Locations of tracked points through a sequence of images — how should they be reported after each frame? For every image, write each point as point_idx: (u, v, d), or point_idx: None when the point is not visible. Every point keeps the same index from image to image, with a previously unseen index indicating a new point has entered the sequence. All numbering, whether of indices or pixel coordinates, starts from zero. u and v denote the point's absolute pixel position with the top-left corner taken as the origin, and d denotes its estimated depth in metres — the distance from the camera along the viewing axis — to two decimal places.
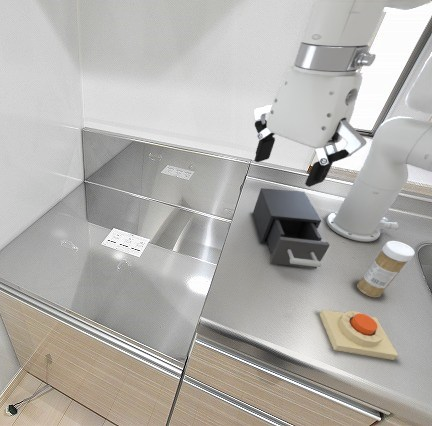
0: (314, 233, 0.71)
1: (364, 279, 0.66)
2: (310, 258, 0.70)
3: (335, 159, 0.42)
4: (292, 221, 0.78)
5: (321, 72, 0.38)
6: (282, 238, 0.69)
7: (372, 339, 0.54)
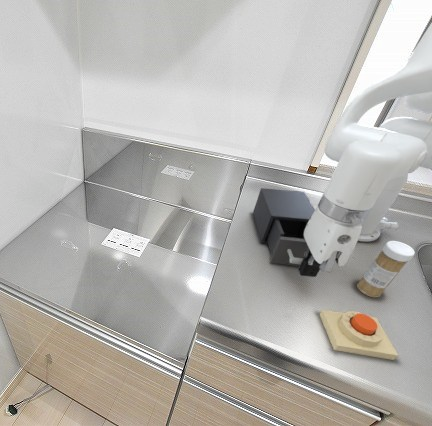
0: None
1: (364, 279, 0.66)
2: None
3: (315, 264, 0.61)
4: (292, 221, 0.78)
5: (324, 214, 0.55)
6: (282, 238, 0.69)
7: (372, 339, 0.54)
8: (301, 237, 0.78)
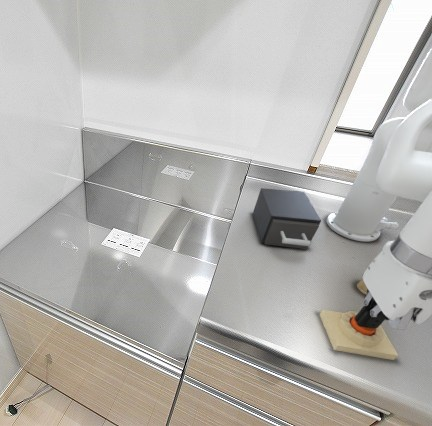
0: None
1: None
2: (301, 239, 0.75)
3: (380, 317, 0.51)
4: None
5: (401, 263, 0.45)
6: (275, 220, 0.74)
7: (372, 339, 0.54)
8: None
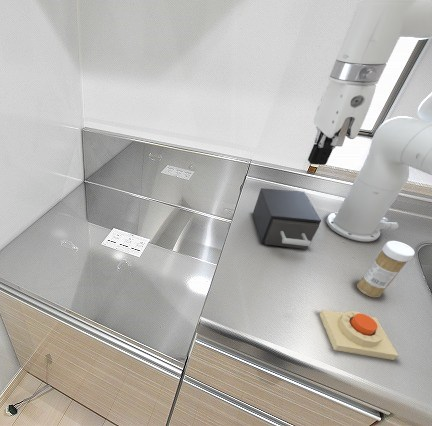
0: None
1: (364, 279, 0.66)
2: (301, 239, 0.75)
3: (325, 144, 0.60)
4: None
5: (336, 79, 0.53)
6: (275, 220, 0.74)
7: (372, 339, 0.54)
8: None
